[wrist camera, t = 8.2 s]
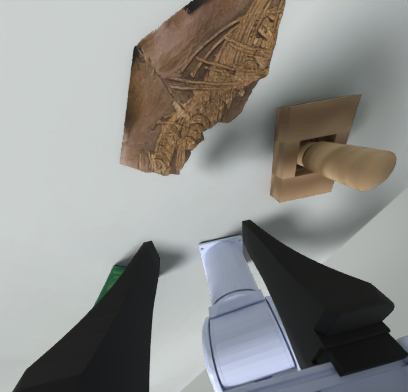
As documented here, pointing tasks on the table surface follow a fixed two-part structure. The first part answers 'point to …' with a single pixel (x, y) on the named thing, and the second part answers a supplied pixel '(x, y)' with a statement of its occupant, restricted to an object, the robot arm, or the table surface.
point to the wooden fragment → (195, 78)
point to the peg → (347, 163)
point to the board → (302, 130)
